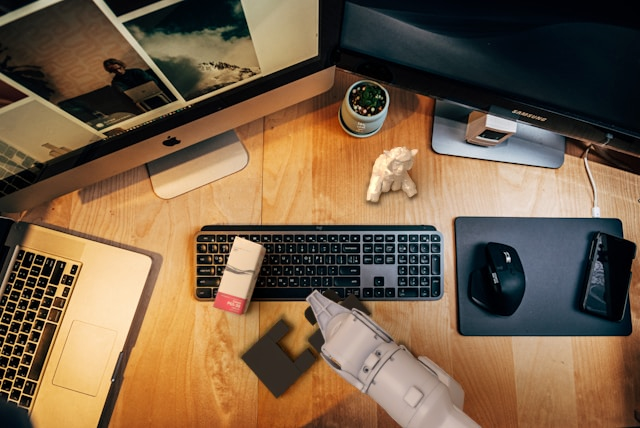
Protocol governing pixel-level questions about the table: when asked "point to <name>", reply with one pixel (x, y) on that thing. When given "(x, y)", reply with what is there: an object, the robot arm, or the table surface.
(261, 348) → the base pad
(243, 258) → the ink box
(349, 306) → the pad
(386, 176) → the seated beast figurine
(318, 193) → the table surface
